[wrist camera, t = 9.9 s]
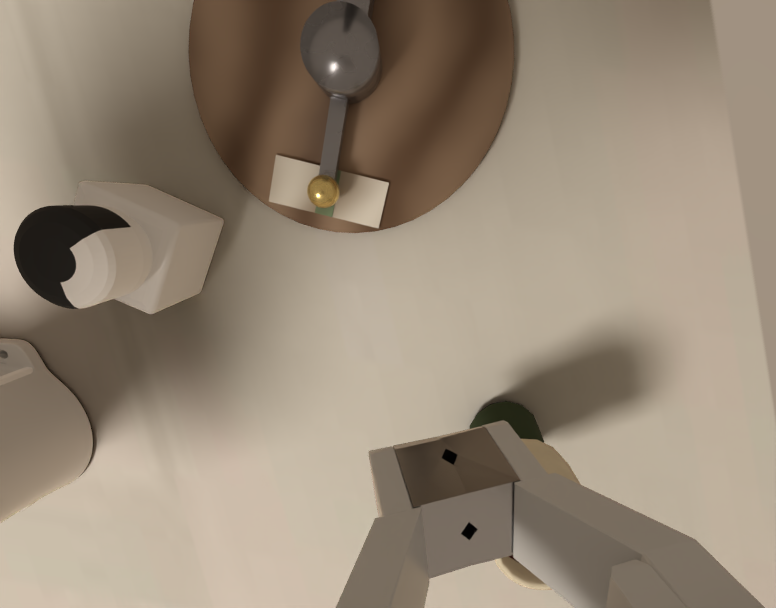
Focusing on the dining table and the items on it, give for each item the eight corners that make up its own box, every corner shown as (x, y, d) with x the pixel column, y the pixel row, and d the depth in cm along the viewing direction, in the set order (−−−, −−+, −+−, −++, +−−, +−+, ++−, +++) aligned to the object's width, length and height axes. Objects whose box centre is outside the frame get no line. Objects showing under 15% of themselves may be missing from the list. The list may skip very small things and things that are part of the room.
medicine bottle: (124, 261, 35) (-17, 290, 23) (145, 182, 33) (4, 173, 22) (201, 294, 35) (100, 340, 24) (226, 219, 34) (130, 228, 22)
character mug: (434, 447, 38) (446, 569, 25) (455, 380, 36) (480, 476, 24) (545, 474, 38) (612, 610, 25) (571, 409, 36) (658, 520, 24)
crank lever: (306, 205, 32) (267, 206, 23) (324, -131, 26) (283, -295, 18) (368, 212, 32) (353, 216, 23) (400, -124, 26) (395, -286, 18)
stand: (179, 193, 33) (170, 193, 32) (214, -165, 27) (205, -182, 26) (459, 262, 33) (461, 264, 32) (557, -77, 27) (564, -89, 26)
